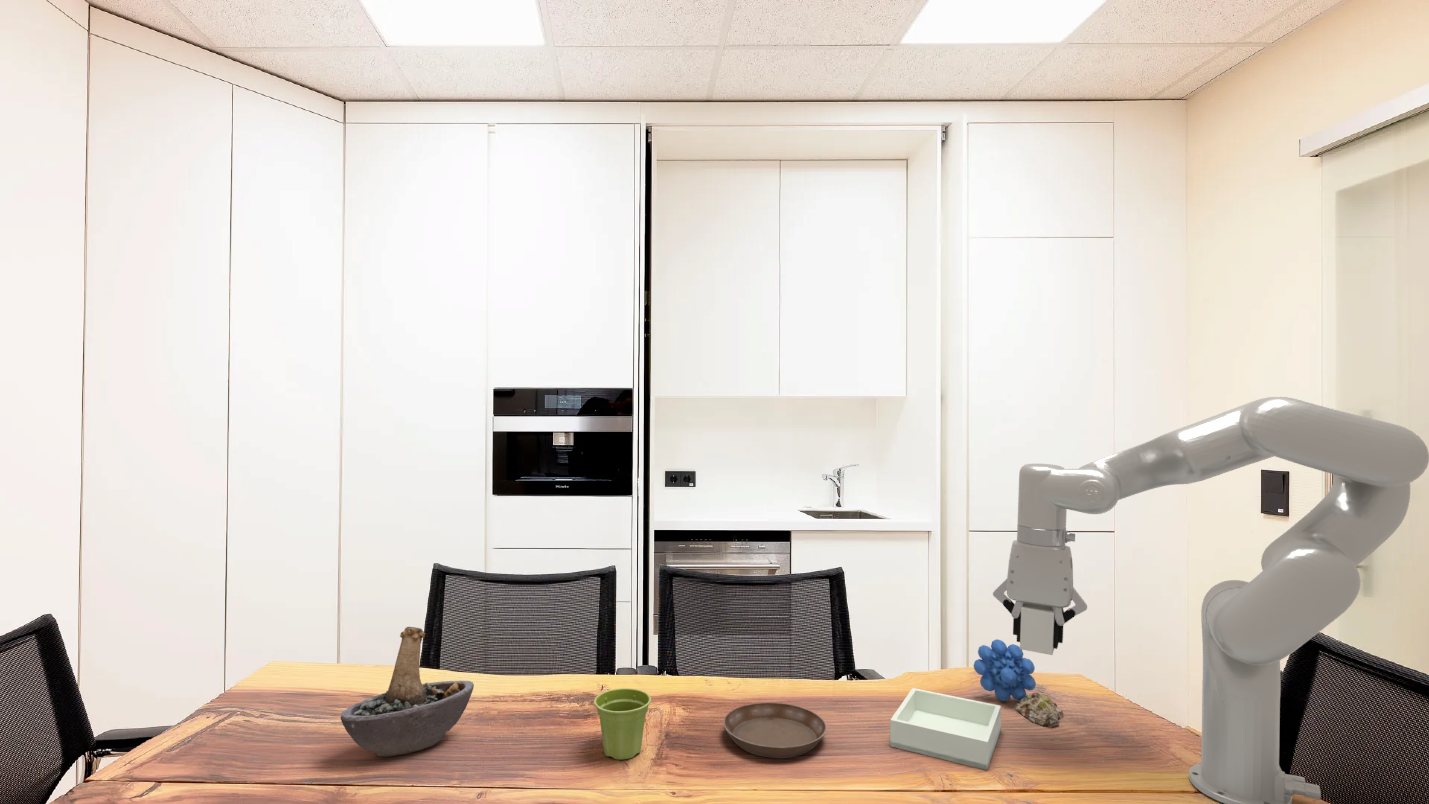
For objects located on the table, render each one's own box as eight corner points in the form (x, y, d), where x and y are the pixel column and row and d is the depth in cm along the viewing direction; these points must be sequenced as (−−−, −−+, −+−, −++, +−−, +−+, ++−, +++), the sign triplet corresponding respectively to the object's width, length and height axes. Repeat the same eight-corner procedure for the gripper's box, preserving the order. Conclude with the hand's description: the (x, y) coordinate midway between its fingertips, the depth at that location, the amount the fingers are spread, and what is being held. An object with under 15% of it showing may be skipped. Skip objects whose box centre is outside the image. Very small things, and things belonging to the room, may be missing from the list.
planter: (477, 732, 125) (479, 618, 125) (413, 781, 109) (414, 650, 109) (406, 721, 129) (407, 610, 129) (333, 766, 113) (334, 640, 113)
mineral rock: (1008, 691, 141) (1050, 683, 139) (1014, 712, 141) (1056, 704, 139) (1022, 717, 130) (1068, 708, 129) (1029, 740, 130) (1074, 732, 129)
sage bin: (1000, 731, 128) (1000, 705, 128) (987, 770, 114) (987, 742, 114) (912, 711, 136) (912, 687, 136) (890, 746, 122) (890, 719, 122)
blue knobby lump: (977, 708, 137) (978, 645, 137) (970, 693, 144) (971, 634, 144) (1042, 712, 136) (1043, 649, 136) (1031, 698, 142) (1032, 637, 142)
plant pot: (596, 769, 113) (597, 714, 113) (590, 741, 123) (591, 690, 122) (655, 761, 116) (655, 708, 116) (645, 735, 125) (645, 685, 125)
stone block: (1054, 646, 124) (1056, 605, 123) (1052, 655, 119) (1053, 613, 119) (1023, 640, 126) (1024, 601, 126) (1019, 649, 122) (1021, 608, 122)
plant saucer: (753, 709, 137) (753, 693, 137) (841, 732, 127) (841, 715, 127) (704, 747, 121) (704, 729, 121) (800, 777, 112) (800, 757, 112)
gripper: (1098, 539, 121) (1094, 646, 122) (991, 527, 130) (988, 627, 130) (1096, 547, 115) (1093, 660, 115) (984, 534, 123) (981, 639, 124)
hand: (1037, 641), depth 123 cm, fingers closed on stone block, 5 cm apart
